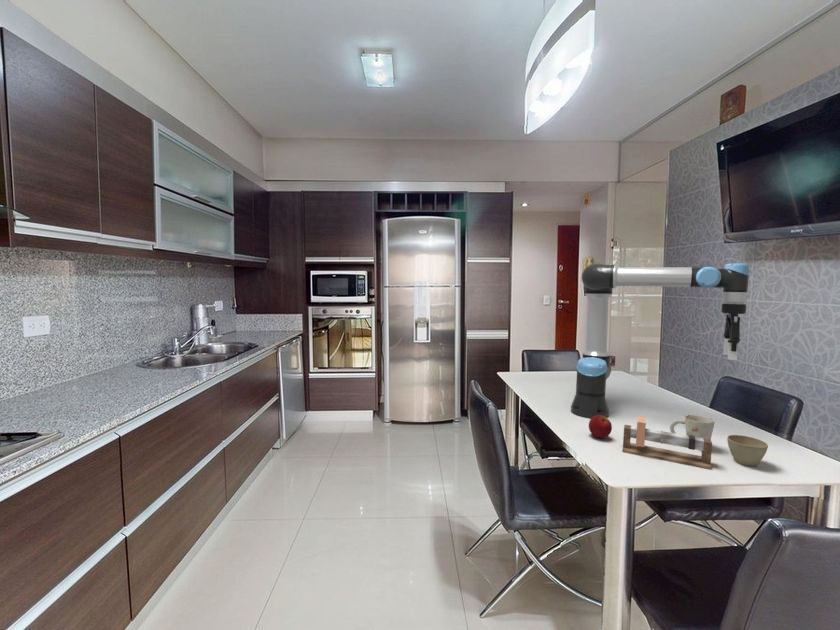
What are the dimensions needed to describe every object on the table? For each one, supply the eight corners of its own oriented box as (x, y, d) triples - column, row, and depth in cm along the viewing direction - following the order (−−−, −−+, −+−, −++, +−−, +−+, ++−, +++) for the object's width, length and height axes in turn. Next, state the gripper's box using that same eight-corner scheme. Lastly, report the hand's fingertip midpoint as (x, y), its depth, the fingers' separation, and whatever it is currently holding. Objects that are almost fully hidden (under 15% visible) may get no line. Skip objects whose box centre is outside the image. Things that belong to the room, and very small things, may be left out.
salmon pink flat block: (635, 445, 131) (637, 421, 130) (636, 439, 136) (637, 416, 136) (644, 447, 130) (645, 423, 129) (644, 440, 135) (646, 417, 135)
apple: (588, 439, 143) (589, 417, 142) (588, 431, 150) (589, 411, 149) (612, 443, 140) (613, 420, 139) (610, 435, 147) (611, 413, 147)
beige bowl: (717, 456, 130) (719, 434, 130) (745, 455, 131) (747, 434, 130) (744, 470, 120) (746, 447, 120) (775, 469, 121) (777, 446, 120)
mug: (713, 453, 132) (715, 424, 131) (668, 445, 138) (670, 417, 138) (711, 445, 139) (713, 417, 138) (668, 437, 145) (670, 411, 145)
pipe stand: (622, 451, 132) (623, 429, 132) (623, 443, 139) (625, 422, 139) (711, 469, 120) (713, 444, 120) (708, 459, 127) (709, 436, 127)
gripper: (752, 304, 143) (747, 363, 144) (740, 302, 164) (736, 353, 166) (726, 303, 147) (722, 360, 148) (718, 302, 168) (714, 351, 170)
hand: (729, 357), depth 157 cm, fingers open, 13 cm apart
